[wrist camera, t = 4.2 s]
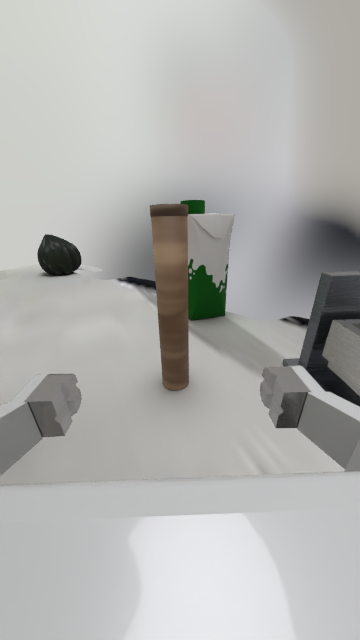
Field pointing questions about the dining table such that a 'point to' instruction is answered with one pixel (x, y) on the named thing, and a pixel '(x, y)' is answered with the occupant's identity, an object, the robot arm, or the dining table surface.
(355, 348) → the bracket
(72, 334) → the dining table surface
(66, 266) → the squash
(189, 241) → the milk carton
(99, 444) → the dining table surface
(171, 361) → the brown wooden rod
